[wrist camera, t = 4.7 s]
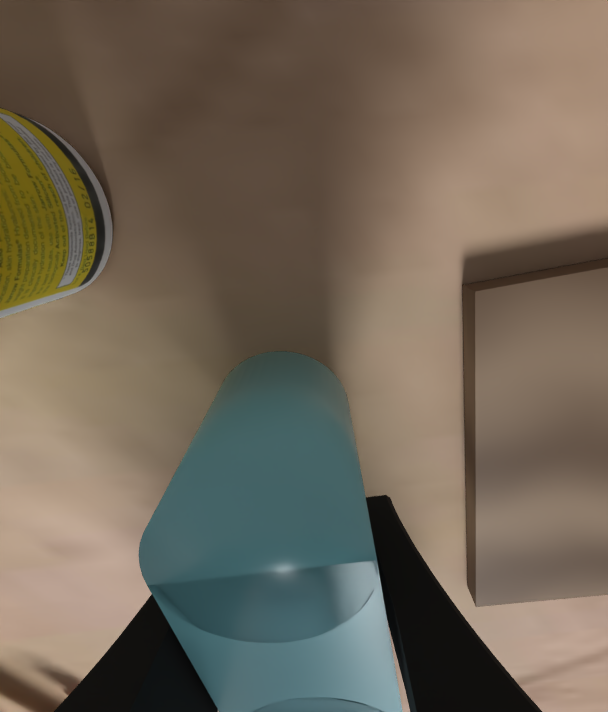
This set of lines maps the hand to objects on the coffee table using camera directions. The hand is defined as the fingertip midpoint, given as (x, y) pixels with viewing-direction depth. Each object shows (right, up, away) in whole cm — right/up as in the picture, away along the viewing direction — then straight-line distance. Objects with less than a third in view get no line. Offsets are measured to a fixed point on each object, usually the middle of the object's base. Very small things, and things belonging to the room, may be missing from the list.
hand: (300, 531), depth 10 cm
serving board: (+12, +1, +4) cm, 13 cm away
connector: (0, -1, +2) cm, 2 cm away
